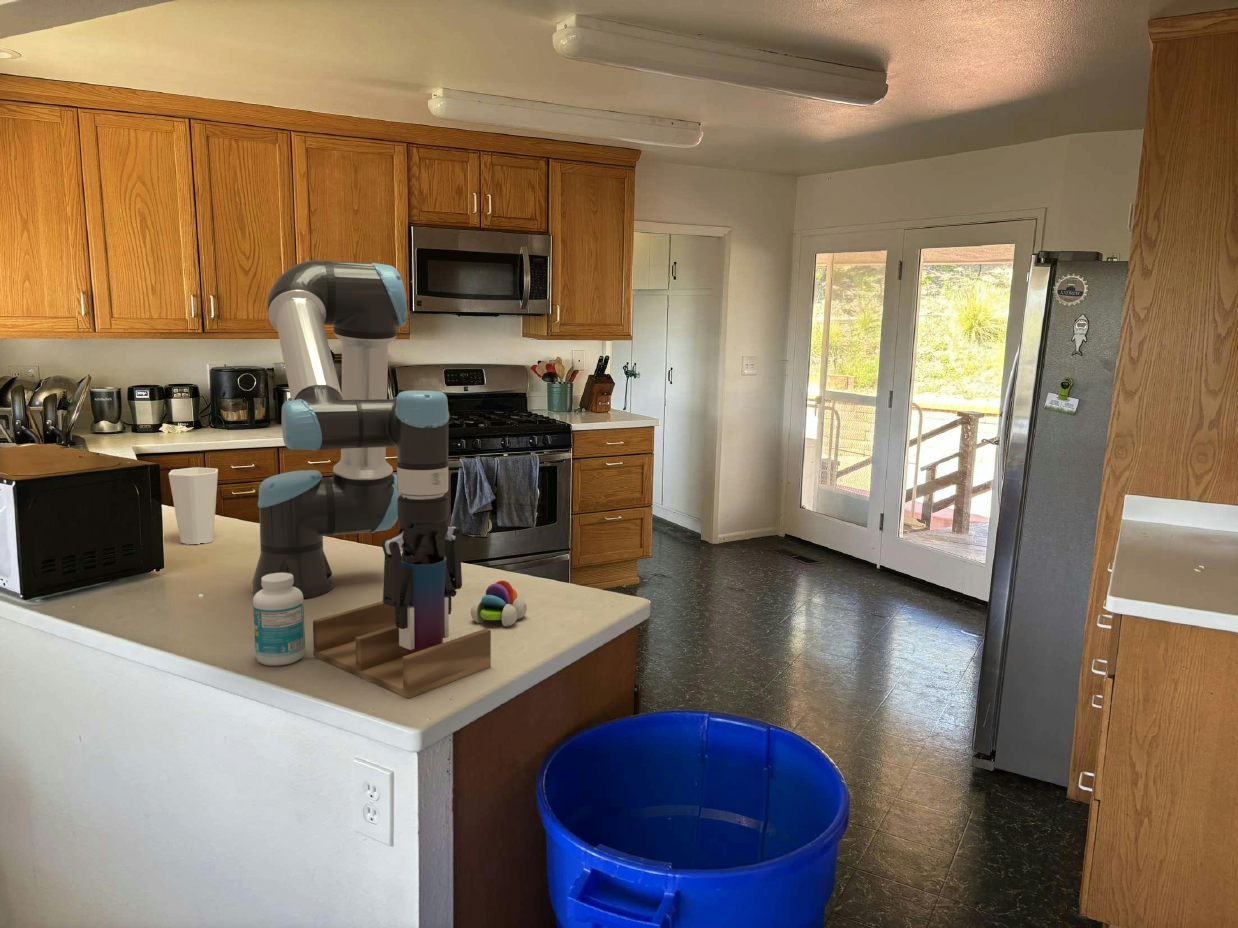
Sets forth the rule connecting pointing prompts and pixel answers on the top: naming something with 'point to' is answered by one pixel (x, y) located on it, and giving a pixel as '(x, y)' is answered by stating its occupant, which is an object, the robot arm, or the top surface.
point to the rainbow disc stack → (499, 605)
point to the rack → (395, 651)
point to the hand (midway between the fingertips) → (424, 640)
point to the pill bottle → (278, 621)
